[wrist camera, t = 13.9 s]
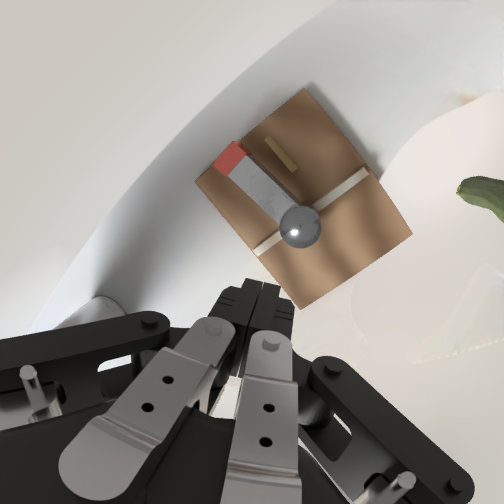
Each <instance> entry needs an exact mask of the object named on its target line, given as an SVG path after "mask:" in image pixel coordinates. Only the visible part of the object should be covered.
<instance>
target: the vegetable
mask: <svg viewBox="0 0 504 504" xmlns="http://www.w3.org/2000/svg"><path fill="white" fill-rule="evenodd" d="M457 191H458V192H456V193H457V195H459V196H460V197H461V198H463V199H464V201H466V202H468V203H470V204H472V205H477V206H480V207H483V208H488V209H490V210H492V211H493V212H494V213H495V214H496V215H497V217H498V218H499V219H500V220H501V221H502V222H503V223H504V181H503V180H497V179H492V178H488V177H483V176H476V177H470V178H467V179H464V180H463V181H462V182H461V185H459V187H458V188H457Z"/></svg>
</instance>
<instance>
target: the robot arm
mask: <svg viewBox="0 0 504 504" xmlns="http://www.w3.org/2000/svg"><path fill="white" fill-rule="evenodd" d="M262 284H263V282H261V281H257V280H252V279H248V278H246V279H245V281H244V283H243V285H242V287H241V288H237V287H233V286H230V287H228V288H226V289H224V290H223V291H222V293H221V294H220V296H219V298H218V300H217V301H216V303H215V305H214V306H213V308H212V310H211V311H210V313H209V315H208V316H207V317H203V318H200V319H198V320H197V321H196V322H195V323H194V324H193V326H192V327H191V328H174V327H170V321H169V319H168V318H167V317H166V316H165V315H163V314H161V313H159V312H155V311H141V312H137V313H132V314H127V315H125V313H124V311H123V310H122V309H121V307H120V306H119V305H118V304H117V303H116V302H114V301H113V300H111V299H109V298H107V297H104V296H98V297H95V298H93V299H92V300H91V301H89V302H88V303H87V304H85V305H84V306H83V307H81V308H80V309H78V310H77V311H76V312H75V313H73V314H72V315H71V316H69V317H68V318H67V319H65V320H64V321H63V322H62V323H60V324H59V325H58V326H56V327H55V328H54V329H53V330H49V331H44V332H39V333H34V334H28V335H23V336H18V337H12V338H7V339H1V340H0V504H350V503H349V502H348V501H347V500H346V498H345V497H344V496H343V495H342V493H341V492H340V491H339V490H338V488H337V487H336V486H335V485H334V483H333V482H332V481H331V479H330V478H329V477H328V476H327V474H326V473H325V472H324V470H323V469H322V468H321V467H320V465H319V464H318V463H317V461H316V460H315V459H314V458H313V457H312V456H311V455H310V454H309V453H308V452H307V451H306V450H305V449H304V448H302V447H301V446H299V445H298V437H299V438H300V439H301V441H302V442H303V443H304V444H305V446H306V447H307V448H308V449H309V451H310V452H311V453H312V454H313V455H314V457H315V458H316V459H317V460H318V462H319V463H320V464H321V465H322V466H323V468H324V469H325V470H326V471H327V472H328V474H329V475H330V476H331V477H332V478H333V480H335V482H336V483H337V484H338V485H339V486H340V488H341V489H342V490H343V491H344V492H345V493H346V494H347V496H348V497H349V498H350V499H351V500H352V501H353V504H467V503H468V502H470V500H471V499H472V497H473V495H474V491H475V486H474V482H473V480H472V478H471V476H470V475H469V474H468V473H467V472H466V471H465V470H464V469H462V468H461V467H460V466H459V465H458V464H457V463H456V462H454V460H452V459H451V458H450V457H449V456H448V455H447V454H446V453H445V452H444V451H442V450H441V449H440V448H439V447H438V446H437V445H436V444H435V443H433V442H432V441H431V440H430V439H429V438H428V437H427V436H426V435H425V434H423V433H422V432H421V431H420V430H419V429H418V428H417V427H416V426H415V425H414V424H412V423H411V422H410V421H409V420H408V419H407V418H406V417H405V416H404V415H402V414H401V413H400V412H399V411H398V410H397V409H396V408H395V407H394V406H393V405H392V404H390V403H389V402H388V401H387V400H386V399H385V398H384V397H383V396H382V395H381V394H380V393H379V392H377V391H376V390H375V389H374V388H373V387H372V386H371V385H370V384H369V383H368V382H366V380H364V379H363V378H362V377H361V376H360V375H359V374H358V373H357V372H356V371H355V370H354V369H353V368H352V367H350V366H349V365H348V364H347V363H346V362H344V361H343V360H341V359H339V358H336V357H332V356H321V357H318V358H316V359H315V360H314V361H313V362H311V361H308V360H306V359H304V358H302V357H300V356H299V355H298V354H296V353H295V352H294V350H293V349H292V343H291V334H292V326H293V318H294V310H295V307H294V305H293V303H292V302H291V300H288V299H284V298H279V292H280V288H281V286H278V285H274V284H270V283H265V282H264V284H263V287H262ZM261 289H262V290H261ZM127 355H131V363H130V364H126V365H122V366H119V367H115V368H111V369H108V370H104V371H100V372H98V371H97V370H98V367H99V366H100V364H102V363H103V362H105V361H108V360H112V359H116V358H119V357H123V356H127ZM240 364H241V365H240ZM239 367H240V370H239ZM238 370H239V375H238V377H239V378H242V380H241V385H240V390H239V393H238V398H237V404H236V408H235V413H234V418H233V419H224V418H214V417H211V415H212V413H213V411H214V409H215V408H216V406H217V404H218V402H219V400H220V398H221V396H222V393H223V392H224V388H225V384H226V383H227V381H228V379H229V376H230V375H231V376H235V377H236V376H237V373H238ZM334 413H335V414H336V415H337V416H338V417H339V418H340V419H341V420H342V421H343V422H344V423H345V424H346V425H347V426H348V428H349V429H350V431H351V435H352V436H351V435H350V434H349V433H348V431H347V430H346V429H345V428H344V427H343V426H342V425H341V424H340V423H339V422H338V421H337V420H336V419H335V417H334V416H333V415H334Z"/></svg>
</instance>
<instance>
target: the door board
mask: <svg viewBox="0 0 504 504" xmlns="http://www.w3.org/2000/svg"><path fill="white" fill-rule="evenodd" d="M240 142H241V143H242V144H243V145H244V146H246V147H247V148H248V149H249V150H250V151H251V152H252V155H253V156H254V157H255V158H256V159H257V160H258V161H259V162H260V163H261V164H262V165H263V166H265V167H266V168H267V169H268V170H269V171H270V172H271V173H272V174H273V175H274V176H275V177H276V178H277V179H278V180H279V181H280V182H281V183H282V184H283V185H284V186H285V187H286V188H287V189H289V190H290V191H291V192H292V193H293V194H294V195H295V196H296V197H297V198H298V199H299V200H300V201H301V202H306V203H309V204H311V205H313V206H314V207H315V208H316V209H317V210H318V212H319V213H320V216H321V234H320V236H319V238H318V240H317V241H316V242H315V243H314V244H313V245H312V246H310V247H307V248H302V249H299V248H294V247H291V246H290V245H288V244H287V243H286V242H285V241H284V240H283V239H282V237H281V235H280V231H279V225H278V224H277V223H276V222H275V221H274V220H273V219H272V218H271V217H270V216H269V215H268V214H267V213H266V212H265V211H264V210H263V209H262V208H261V207H260V206H259V205H258V204H257V203H256V202H255V201H254V200H253V199H252V198H251V197H249V196H248V195H247V194H246V193H245V192H244V191H243V190H242V189H241V188H240V187H239V186H238V185H237V184H236V183H235V182H234V181H233V180H232V179H230V178H229V177H228V176H227V177H225V176H224V175H223V174H222V173H221V172H220V171H219V170H218V169H216V168H215V167H214V166H213V165H212V166H211V167H210V168H208V169H207V170H206V171H205V172H204V173H203V174H202V175H201V176H200V177H199V178H198V179H197V180H195V181H194V182H195V183H196V184H197V185H198V186H199V188H200V189H201V190H202V191H203V192H204V194H205V195H206V196H207V197H208V199H209V200H210V201H211V202H212V203H213V205H214V206H215V207H216V208H217V209H218V211H219V212H220V213H221V214H222V215H223V217H224V218H225V219H226V220H227V222H228V223H229V224H230V225H231V226H232V228H233V229H234V230H235V231H236V232H237V234H238V235H239V236H240V237H241V239H242V240H243V241H244V242H245V243H246V245H247V246H248V247H249V248H250V249H251V251H252V252H253V253H254V254H255V255H256V257H257V258H258V259H259V260H260V262H261V263H262V264H263V265H264V266H265V268H266V269H267V270H268V271H269V272H270V274H271V275H272V276H273V277H274V279H275V280H276V281H277V282H278V283H279V285H280V286H281V287H282V288H283V289H284V291H285V292H286V293H287V294H288V296H289V297H290V298H291V299H292V300H293V302H294V303H295V304H296V305H297V306H298V308H299V309H300V310H301V309H303V308H305V307H306V306H308V305H309V304H311V303H313V302H314V301H316V300H317V299H319V298H320V297H322V296H324V295H325V294H327V293H328V292H330V291H331V290H333V289H334V288H336V287H337V286H339V285H340V284H342V283H343V282H345V281H346V280H348V279H349V278H351V277H352V276H354V275H355V274H357V273H358V272H360V271H361V270H363V269H364V268H366V267H367V266H369V265H370V264H371V263H373V262H374V261H376V260H377V259H378V258H380V257H382V256H383V255H385V254H386V253H387V252H389V251H390V250H392V249H393V248H394V247H396V246H397V245H398V244H400V243H401V242H403V241H404V240H406V239H407V238H408V237H410V236H411V235H412V232H411V230H410V229H409V227H408V225H407V224H406V222H405V220H404V219H403V217H402V216H401V214H400V213H399V211H398V209H397V208H396V206H395V205H394V204H393V202H392V200H391V199H390V197H389V196H388V195H387V193H386V192H385V190H384V189H383V187H382V186H381V184H380V183H379V181H378V180H377V179H376V177H375V176H374V174H373V173H372V172H371V170H370V169H369V167H368V166H367V165H366V163H365V162H364V161H363V159H362V158H361V157H360V155H359V154H358V153H357V151H356V150H355V149H354V147H353V146H352V145H351V144H350V142H349V141H348V140H347V138H346V137H345V136H344V135H343V133H342V132H341V131H340V130H339V128H338V127H337V126H336V125H335V124H334V122H333V121H332V120H331V119H330V117H329V116H328V115H327V114H326V113H325V112H324V110H323V109H322V108H321V107H320V106H319V104H318V103H317V102H316V101H315V100H314V99H313V98H312V96H311V95H310V94H309V93H308V92H307V91H306V90H305V89H303V90H301V91H300V92H299V93H298V94H296V95H295V96H294V97H292V98H291V99H290V100H289V101H287V102H286V103H285V104H284V105H282V106H281V107H280V108H279V109H277V110H276V111H275V112H274V113H272V114H271V115H270V116H269V117H267V118H266V119H265V120H264V121H263V122H261V123H260V124H259V125H258V126H257V127H255V128H254V129H253V130H252V131H251V132H249V133H248V134H247V135H246V136H245V137H244V138H242V139H241V140H240Z"/></svg>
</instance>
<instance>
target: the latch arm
mask: <svg viewBox="0 0 504 504" xmlns="http://www.w3.org/2000/svg"><path fill="white" fill-rule="evenodd" d="M212 165H213V166H214V167H215V168H216V169H218V170H219V171H220V172H221V173H222V174H223V175H224V176H225V177H227V176H228V177H229V178H230V179H232V180H233V181H234V182H235V183H236V184H237V185H238V186H239V187H240V188H241V189H242V190H243V191H244V192H245V193H246V194H247V195H248V196H249V197H251V198H252V199H253V200H254V201H255V202H256V203H257V204H258V205H259V206H260V207H261V208H262V209H263V210H264V211H265V212H266V213H267V214H268V215H269V216H270V217H271V218H272V219H273V220H274V221H275V222H276V223H277V224H278V225H279V231H280V235H281V237H282V239H283V240H284V241H285V242H286V243H287V244H288V245H290V246H291V247H294V248H299V249H302V248H307V247H310V246H312V245H313V244H314V243H315V242H316V241H317V240H318V238H319V236H320V234H321V216H320V213H319V212H318V210H317V209H316V208H315V207H314V206H313V205H311V204H309V203H306V202H301V201H300V200H299V199H298V198H297V197H296V196H295V195H294V194H293V193H292V192H291V191H290V190H289V189H287V188H286V187H285V186H284V185H283V184H282V183H281V182H280V181H279V180H278V179H277V178H276V177H275V176H274V175H273V174H272V173H271V172H270V171H269V170H268V169H267V168H266V167H265V166H263V165H262V164H261V163H260V162H259V161H258V160H257V159H256V158H255V157H254V156H253V155H252V152H251V151H250V150H249V149H248V148H247V147H246V146H244V145H243V144H242V143H241V142H240V141H232V142H231V144H230V145H229V146H228V147H227V148H226V149H225V150H224V152H223V153H222V154H221V155H220V156H219V157H218V158H217V160H216V161H215V162H214V163H213V164H212Z"/></svg>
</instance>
